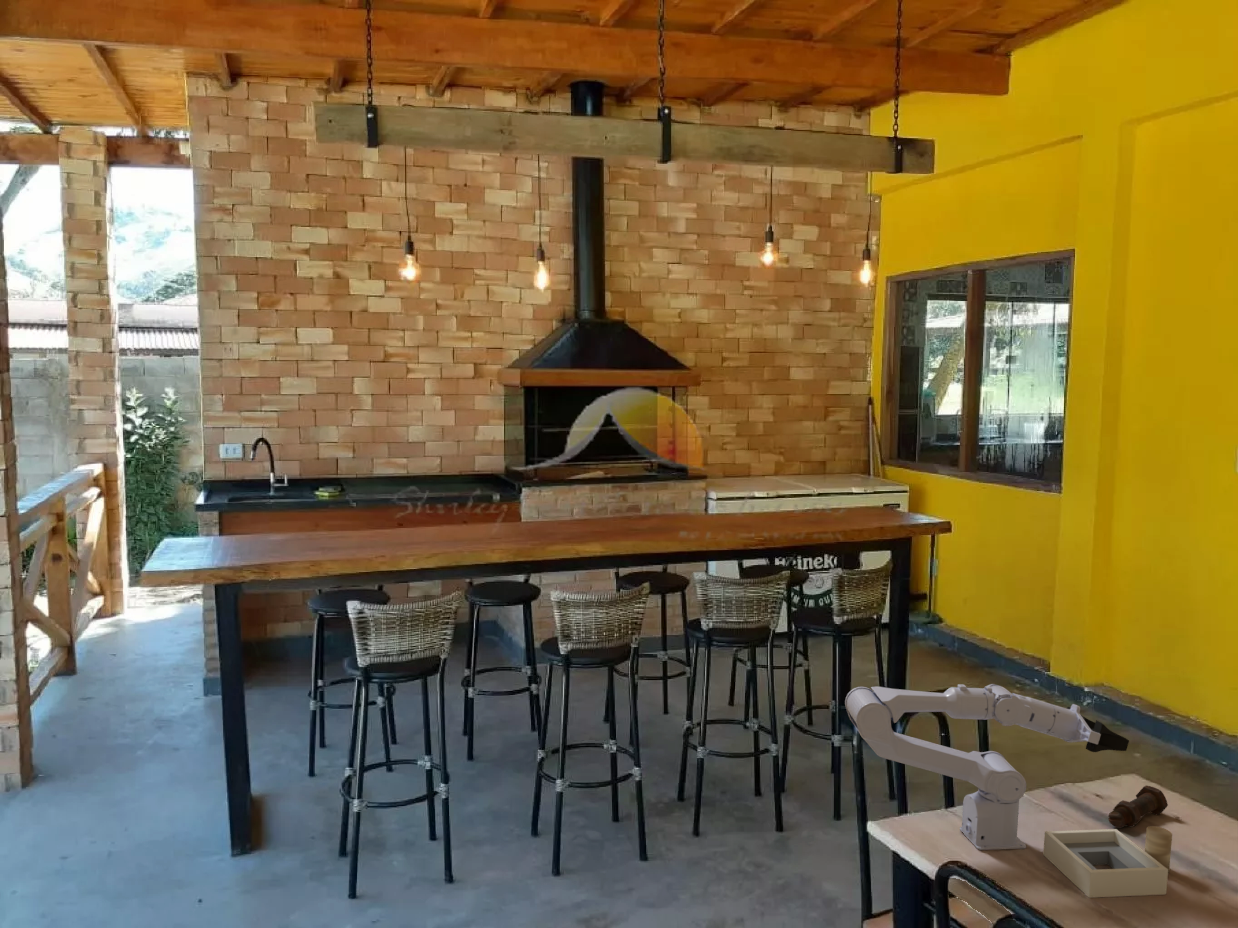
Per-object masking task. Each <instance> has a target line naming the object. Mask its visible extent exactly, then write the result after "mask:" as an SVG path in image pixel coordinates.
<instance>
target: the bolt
mask: <svg viewBox="0 0 1238 928" xmlns="http://www.w3.org/2000/svg"><path fill="white" fill-rule="evenodd" d="M1135 797H1136V798H1134V799H1133V800H1130V801H1127V800H1121V801H1119V802H1118V803H1117V804H1116V805H1115V806H1114V807H1113V809H1112V811H1111V812H1110V813H1108V817H1107V818H1108V821H1109V823H1110V824H1111V825H1112V827H1115V828H1116V829H1120V828H1121V829H1122V828H1124V827H1126V826H1127V827H1130V828H1133V827H1135V826H1136V825H1137V824H1138V823H1139V822H1140V821H1141V820H1142V817H1143V816H1145V815H1147V814H1149V813H1151V814H1153V813H1154V815H1156V814H1157V816H1159V815H1160V813H1161V814H1162V812H1164V811H1165V810H1166V809H1167V807H1168V806H1169V804H1168V800H1167V798H1166V796H1165V794H1164V792H1163V791H1162V790H1161V789H1159V788H1157V787H1154V786H1150V785H1145V786H1143V787H1142V788H1141V789H1140V790H1139V791H1138V792H1137V794H1136V795H1135Z"/></svg>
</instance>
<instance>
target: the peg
mask: <svg viewBox="0 0 1238 928" xmlns="http://www.w3.org/2000/svg"><path fill="white" fill-rule="evenodd" d="M1144 843H1145V845H1144V851H1145V852H1146V853H1148V854H1149V855H1150V856H1151V857H1153V858H1154V859H1155V860H1157V861H1158V862H1159V863H1160V864H1162V865H1163V866H1164V867H1166V868H1167V869H1168V874H1170V867H1171V855H1172V854H1171V853H1172V843H1173V833H1172V832H1171V831H1170V830H1168V829H1167V828H1163V827H1160V826H1156V825H1155V826H1154V825H1151V826H1147V827H1146V831H1145V842H1144Z"/></svg>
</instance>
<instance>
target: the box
mask: <svg viewBox="0 0 1238 928" xmlns="http://www.w3.org/2000/svg"><path fill="white" fill-rule="evenodd" d="M1042 855H1043V856H1044V857H1045V858H1046V859H1047V860H1048V861H1050V863H1052V865H1054V866H1055V867H1056V868H1057V869H1058V870H1059V871H1060V872H1061V873H1062V874H1063V875H1064V876H1065V877H1067V879H1068V880H1070V881H1071V883H1073V884H1074V885H1075V886H1076V887H1077V888H1078V889H1079V890H1080V891H1081V892H1082V893H1083V894H1085V895H1086V896H1087V897H1088V899H1089V898H1090V899H1091V898H1111V897H1112V898H1113V897H1114V898H1115V897H1130V896H1131V897H1136V896H1138V897H1139V896H1140V897H1141V896H1158V895H1159V896H1161V895H1164V896H1165V895H1166V894H1167V887H1168V876H1169V873H1168V869H1167V868H1166V867H1164V866H1163V865H1162V864H1160V863H1159V862H1158V861H1157V860H1155V859H1154V858H1153V857H1151V856H1150V855H1149V854H1148V853H1146V852H1145V849H1142V848H1141V847H1140V846H1138V844H1136V843H1135V842H1133V841H1132V840H1131V839H1130V838H1129V837H1127V836H1126V835H1125V834H1123V833H1122V832H1121V831H1119V830H1118V828H1110V829H1108V828H1107V829H1102V828H1101V829H1081V830H1080V829H1077V830H1076V829H1075V830H1073V829H1072V830H1049V831H1047V830H1046V831H1044V838H1043V853H1042ZM1095 865H1097V866H1099V865H1101V866H1102V865H1108V866H1109V867H1110V868H1109V869H1108V868H1105V869H1102V868H1101V869H1098V868H1096V867H1095Z"/></svg>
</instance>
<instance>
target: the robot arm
mask: <svg viewBox="0 0 1238 928" xmlns="http://www.w3.org/2000/svg"><path fill="white" fill-rule="evenodd" d="M844 705H845V709H846V712H847V715H848V718H849V720H850V721H851V723H852V724H853V726H854V727H855V729H856V730H857V732H858V733H859V735H860V736H861V738H862V739H863V740H864V741H865V742H866V743H867V745H868V746H869V747H870V748H871V749H872V751H874V753H875V754H876V755H877V756H878V757H880V758H882V759H886V760H889V761H893V762H897V763H901V764H904V765H908V766H911V767H914V768H918V769H921V770H922V769H923V770H926V771H929V772H933V773H936V774H940V775H943V776H947V777H950V778H953V779H958V780H961V781H964V782H968V783H970V784H972V785H974V786H975V787H976V788H978V789H977V791H975V792H972V793H968V794H965V796H964V798H963V802H962V811H961V812H962V813H961V814H962V817H961V820H962V821H961V826H960V827H959V831H961V832H963V833H964V834H963V833H962V834H963V835H964V836H965V837H966V838H967V839H968V840H969V841H970V843H972V844H973V845H974V847H975V848H976V849H977V850H979V851H986V850H987V851H988V850H1014V849H1015V850H1017V849H1019V850H1020V849H1026V848H1027V845H1026V844H1025V843H1024V841H1022V839H1020V838H1019V837H1018V826H1019V824H1018V823H1019V810H1020V808H1019V807H1020V799H1022V797H1024V795H1025V794H1026V790H1027V782H1026V779H1025V777H1024V776H1023V775H1022V773H1020V772H1019V771H1017V769H1015V768H1014V767H1013V766H1012V765H1011V764H1010V763H1009V762H1008V761H1007V759H1006V758H1005V756H1004V755H1003V754H1001V753H999V752H997V751H995V750H994V751H993V750H988V751H984V752H983V751H981V752H980V751H977V750H972V751H970V752H967V751H963V750H961V749H960V750H959V749H957V748H952V747H949V746H945V745H941V744H937V743H934V742H931V741H927V740H923V739H920V738H917V737H912V736H909V735H906V734H902V733H899V732H895V731H894V730H893V728H892V723H894V724H895V723H897V722H898V721H899V719H901V717H902V716H903V714H905V713H932V712H933V713H937V712H938V713H939V712H943V713H944V712H945V713H946V714H947V715H948V716H949V717H950V718H952V719H961V720H992V719H994V720H995V721H996V722H997V723H999V724H1001V726H1005V727H1009V726H1010V727H1011V726H1013V725H1017V726H1019V727H1022V728H1024V729H1029V730H1032V731H1035V732H1038V733H1040V734H1044V735H1047V736H1051V737H1054V738H1058V739H1061V740H1062V741H1064V742H1067V743H1081V742H1086V745H1085V749H1086V750H1087V751H1089V752H1092V753H1098V752H1101V751H1116V752H1117V751H1118V752H1121V751H1122V752H1126V751H1127V749H1128V745H1129V743H1130V740H1129V739H1128V738H1126V737H1124V736H1122V735H1120V734H1119V733H1116V732H1114V731H1112V730H1110V729H1109V728H1108V727H1107V726H1106V725H1105V724H1104V723H1102V722H1101V721H1099V720H1095V721H1092V720H1091V719H1088V718H1087V717H1085V716H1083V715H1082V714H1081V713H1080V712H1081V706H1080V705H1077V704H1075V703H1072V704H1071V706H1068V707H1062V706H1060V705H1056V704H1053V703H1049V702H1047V701H1043V700H1040V699H1038V698H1037V699H1036V698H1033V697H1030V696H1024V695H1023V694H1017V693H1014V692H1012V693H1011V691H1009V690H1008V689H1007V688H1005V687H1003V686H1002V685H998V684H995V683H990V684H988V685H986V686H984V688H981V687H980V688H979V687H967V686H966V685H965V684H963V683H962V684H961V683H959V684H957V687H955V686H954V687H953V686H951V687H949V688H948V689H946V690H945V691H944V692H933V691H931V692H930V691H924V690H923V691H921V690H909V689H899V688H890V687H884V686H879V685H878V686H877V685H876V686H871V687H870V688H869V687H866V686H857V687H854V688H852V689H851V690H850V691H849V692H848V693H847V694H846V697H845V700H844Z"/></svg>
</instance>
